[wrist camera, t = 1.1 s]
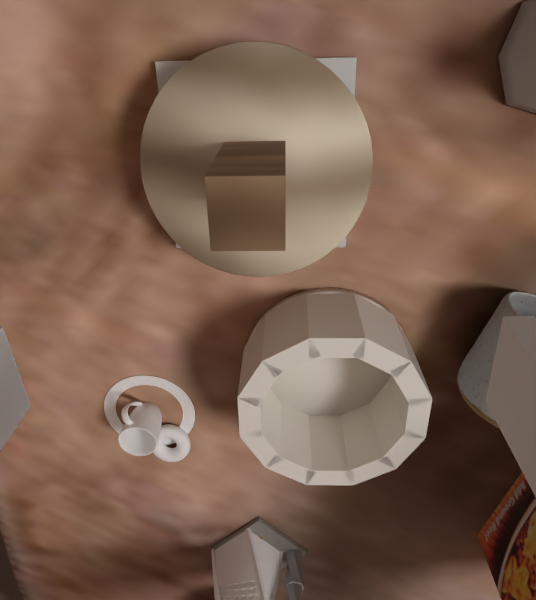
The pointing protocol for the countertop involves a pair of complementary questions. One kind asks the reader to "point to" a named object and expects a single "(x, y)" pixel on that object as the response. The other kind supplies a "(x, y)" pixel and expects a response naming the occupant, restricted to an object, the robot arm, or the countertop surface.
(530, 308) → the ceramic mug
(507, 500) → the pasta box
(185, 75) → the lid
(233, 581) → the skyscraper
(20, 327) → the countertop surface
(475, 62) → the countertop surface
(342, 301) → the bowl
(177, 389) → the cup and donut ornament
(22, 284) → the countertop surface
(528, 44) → the flask
